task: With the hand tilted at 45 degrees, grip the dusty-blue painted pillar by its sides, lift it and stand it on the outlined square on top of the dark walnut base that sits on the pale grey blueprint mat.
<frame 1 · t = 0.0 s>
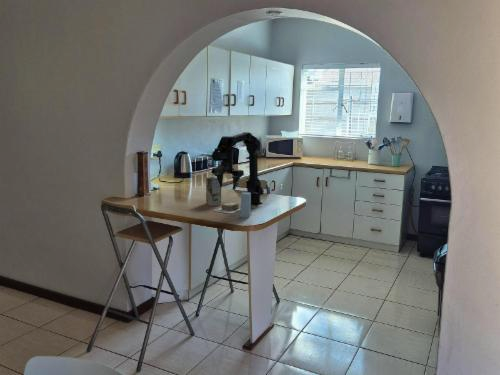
hand: (227, 187, 251), 15 cm above the worktop, tool pointing down, fingers open, 9 cm apart
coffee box: (213, 204, 275), on the worktop
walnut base: (230, 209, 260), on the worktop
pillar: (245, 216, 246), on the worktop
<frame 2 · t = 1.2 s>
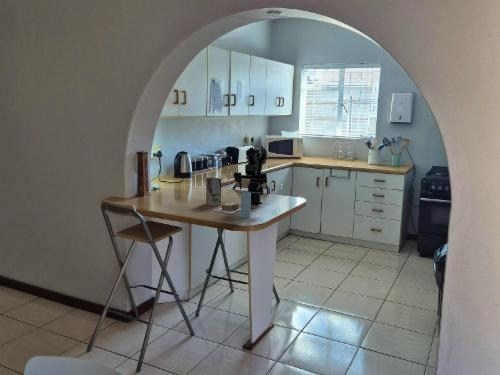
hand: (248, 189, 251), 13 cm above the worktop, tool tilted 45°, fingers open, 9 cm apart
nothing on the worktop moved.
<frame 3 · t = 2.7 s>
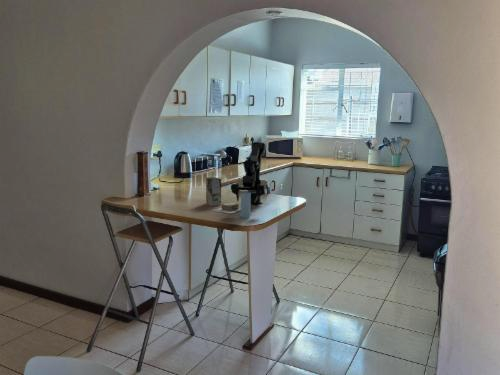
hand: (246, 201, 245), 8 cm above the worktop, tool tilted 45°, fingers open, 9 cm apart
nothing on the worktop moved.
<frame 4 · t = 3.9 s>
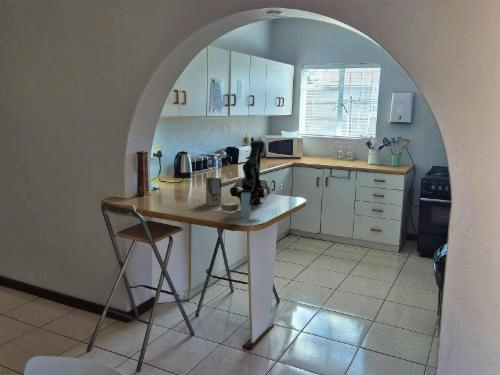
hand: (245, 205, 243), 7 cm above the worktop, tool tilted 45°, fingers closed on pillar, 4 cm apart
pillar: (245, 216, 246), on the worktop, touching gripper
everything else where it was.
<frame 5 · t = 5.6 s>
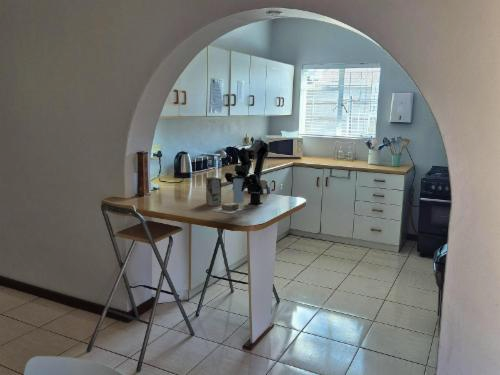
hand: (237, 190, 246), 14 cm above the worktop, tool tilted 45°, fingers closed on pillar, 4 cm apart
pillar: (238, 202, 249), point 7 cm above the worktop, touching gripper
everything else where it was.
when the fingers open (11 cm above the worktop, at t = 7.3 s): pillar drops 1 cm, resting on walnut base.
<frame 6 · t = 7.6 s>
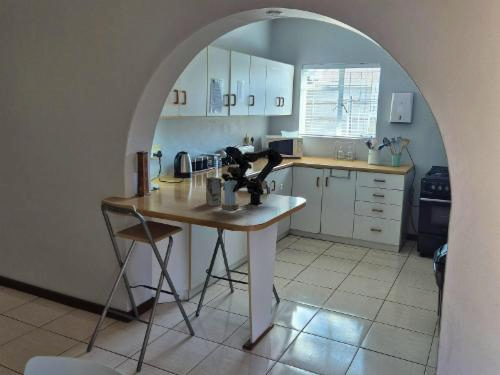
hand: (228, 191, 257), 11 cm above the worktop, tool tilted 45°, fingers open, 7 cm apart
pillar: (230, 204, 260), point 3 cm above the worktop, touching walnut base
everything else where it was.
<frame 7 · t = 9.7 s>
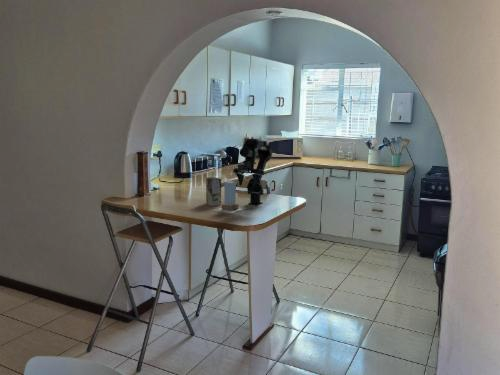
hand: (246, 186, 261), 13 cm above the worktop, tool tilted 15°, fingers open, 9 cm apart
nothing on the worktop moved.
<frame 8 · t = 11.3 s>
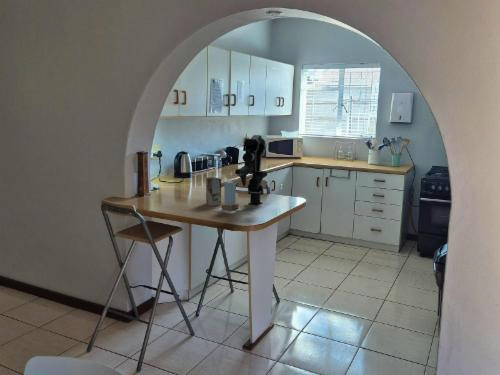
hand: (250, 187, 259), 13 cm above the worktop, tool pointing down, fingers open, 9 cm apart
nothing on the worktop moved.
at the end: pillar 0.0 cm off-centre on the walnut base, point 3.5 cm above the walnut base's base; pillar tilted 0°; the gripper is holding nothing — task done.
